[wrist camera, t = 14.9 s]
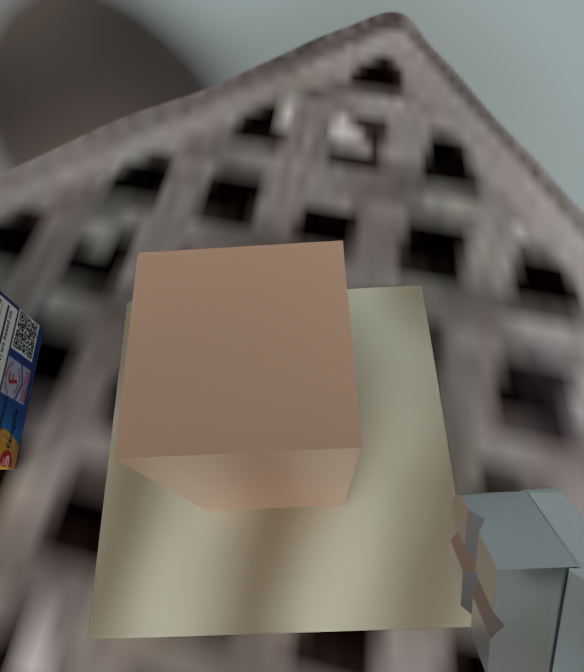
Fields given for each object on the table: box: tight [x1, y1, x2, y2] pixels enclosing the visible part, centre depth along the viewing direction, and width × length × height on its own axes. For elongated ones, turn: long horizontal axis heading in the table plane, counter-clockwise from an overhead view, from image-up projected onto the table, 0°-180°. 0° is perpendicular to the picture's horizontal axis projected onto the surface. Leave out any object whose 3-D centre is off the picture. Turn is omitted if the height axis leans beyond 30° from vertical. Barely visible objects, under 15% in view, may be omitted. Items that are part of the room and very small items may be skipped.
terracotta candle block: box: [114, 241, 362, 511], centre depth 17 cm, size 5×5×10 cm
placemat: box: [87, 285, 472, 640], centre depth 22 cm, size 14×14×1 cm
